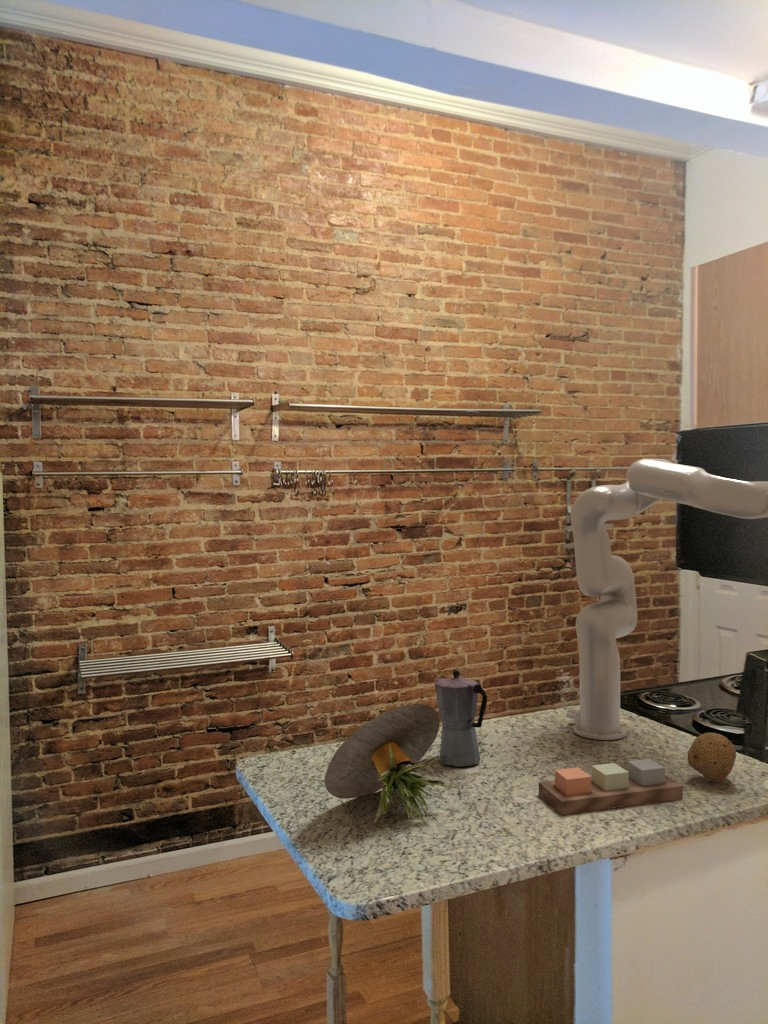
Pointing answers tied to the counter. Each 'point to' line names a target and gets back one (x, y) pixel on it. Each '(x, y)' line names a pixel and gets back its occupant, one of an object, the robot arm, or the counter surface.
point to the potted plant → (386, 758)
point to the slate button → (646, 772)
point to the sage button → (610, 777)
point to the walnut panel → (609, 796)
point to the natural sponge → (712, 756)
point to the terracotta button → (572, 781)
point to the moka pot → (459, 719)
